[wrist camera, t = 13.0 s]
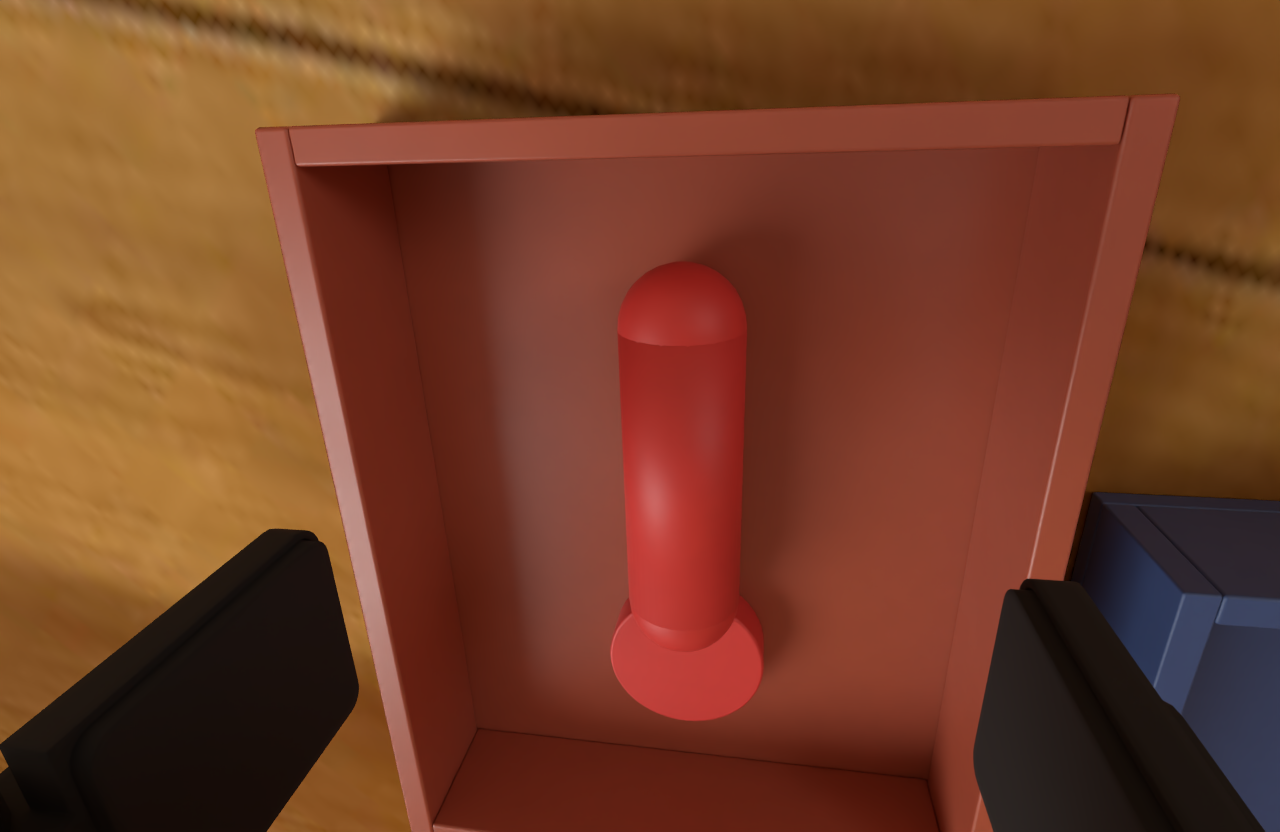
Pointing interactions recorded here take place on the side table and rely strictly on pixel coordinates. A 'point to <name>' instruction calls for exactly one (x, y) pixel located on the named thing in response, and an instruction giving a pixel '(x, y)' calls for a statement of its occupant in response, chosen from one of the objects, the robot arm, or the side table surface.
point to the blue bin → (1199, 619)
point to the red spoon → (684, 496)
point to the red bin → (773, 432)
